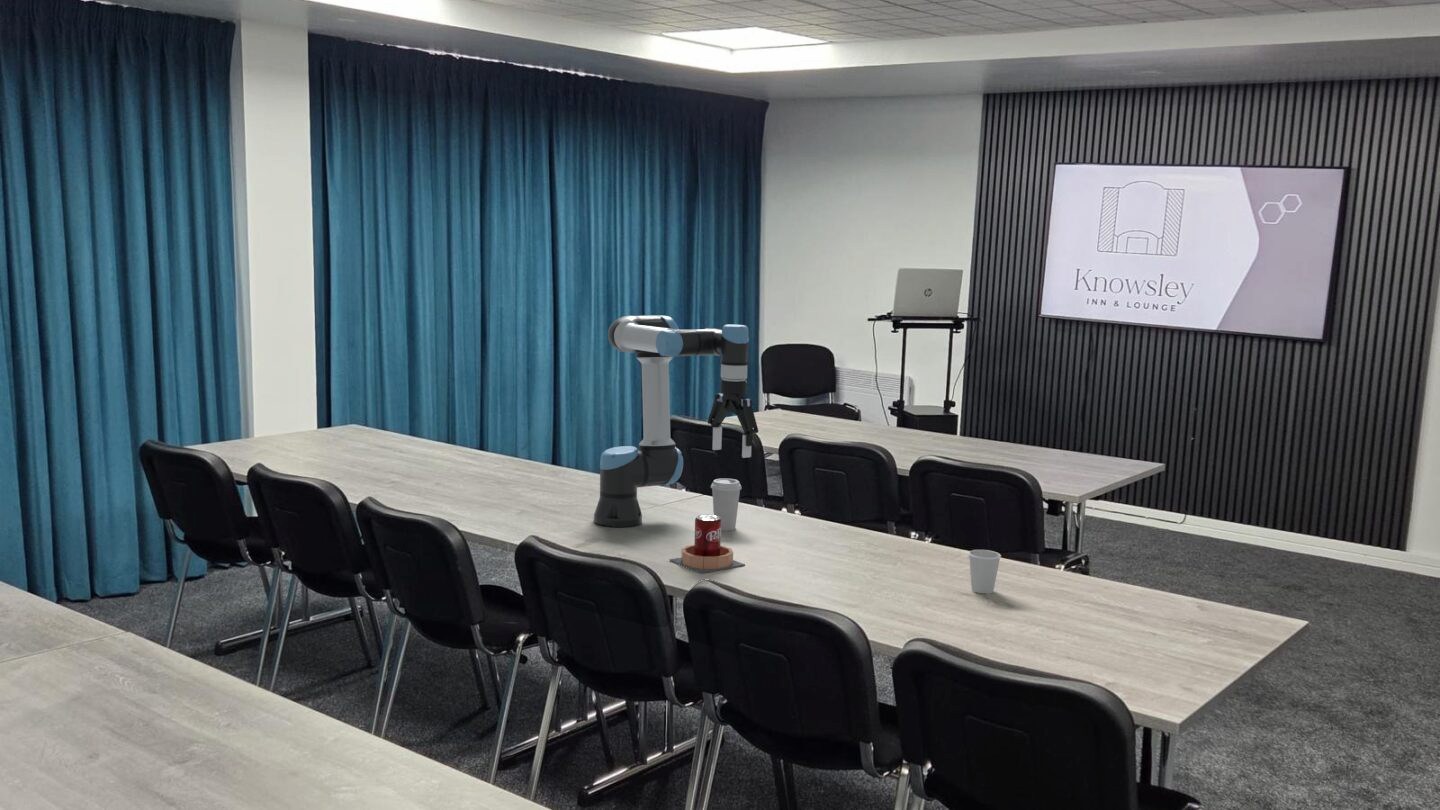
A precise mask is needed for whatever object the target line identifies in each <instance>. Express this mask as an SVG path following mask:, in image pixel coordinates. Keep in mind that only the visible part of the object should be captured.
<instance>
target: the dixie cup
mask: <svg viewBox="0 0 1440 810" xmlns="http://www.w3.org/2000/svg"><path fill="white" fill-rule="evenodd" d="M968 557H969V570H970V571H969V574H970V585H971V586H970V587H971V588H970V589H972V590H971V591H972V592H973V591H974V593H976V592H978V593H977V594H980V593H986V594H985V595H989V594H990V593H991V594H993V593H994V590H995V586H996V580H997V575H998V571H999V565H1000V560H1001V559H1000V558H1002V554H1000V553H999V552H996V551H994V550H989V549H972V550H970V551H968Z"/></svg>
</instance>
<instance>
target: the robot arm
mask: <svg viewBox="0 0 1440 810" xmlns="http://www.w3.org/2000/svg"><path fill="white" fill-rule="evenodd" d="M607 340H608V342H609V344H610V346H611V347H612V348H614V349H615V350H616V351H619V352H621V353H630V354H631V353H632V354H634V353H635V354H636V359H637V360H638V361H639V362H640V364H641V382H642V383H641V388H642V390H641V391H642V394H641V396H642V426H643V427H642V428H643V429H642V431H643V433H642V434H643V438H642V440H641V441H640V442H639V444H638V448H637V447H636V446H633V445H632V446H631V445H625V446H623V445H622V446H614V447H610V448H608V449H605V450H604V451H602V453H601V455H600V460H599V461H600V462H599V468H600V469H599V498H598V502H597V505H596V508H595V511H594V513H593V522H594V523H595V524H596V523H597V525H599V524H600V525H599V526H603V525H605V526H604V527H609V526H612V527H613V528H629V527H633V526H634V525H635V526H638V525H640V524H641V522H643V514H642V511H641V507H640V503H639V501H638V488H647V487H657V486H660V487H663V486H667V485H672V484H675V483H676V482H678V480H679V479H680V477H681V476H682V472H683V470H684V469H683V468H684V458H683V455H682V454H683V453H682V451H681V449H679V448H678V447H676V442H675V441H674V440H673V439H672V438H671V416H670V415H671V409H670V407H671V405H670V403H671V402H670V372H669V371H670V369H669V368H670V367H669V363H670V362H671V360H673V358H675V357H689V356H691V357H697V356H699V357H700V356H701V357H702V356H703V357H704V356H718V357H721V358H720V359H721V362H720V378H721V380H720V388H719V389H720V390H719V391H720V393H716V394H715V395H714V401H713V405H712V408H711V410H710V412H709V413H710V414H709V416H708V418H707V424H708V425H710V427H712V431H711V432H712V434H711V438H712V448H711V449H712V450H713V451H719V450H722V445H723V444H722V440H723V438H722V437H723V425H722V423H723V422H724V420H725V419H726V418H727V416H728V414H729V412H730V413H733V414H734V415H735V416H736V417H737V420H738V421H739V424H740V426H741V428H742V429H743V432H744V433H743V434H742V440H741V441H742V442H741V443H742V444H741V447H742V449H741V458H743V459H745V458H752V446H753V440H754V439H753V438H754V437H753V436H754V434H755V435H756V434H758V433H759V427H758V425H757V419H756V417H755V413H754V409H753V400H752V398H745V394H747V391H748V381H747V379H748V364H749V363H748V362H749V345H750V337H749V327H748V326H747V325H745V324H736V323H735V324H731V323H730V324H724V325H723V326H722V329H720V328H716V327H712V328H711V327H706V328H704V329H703V328H702V329H701V328H700V329H698V328H697V329H679V326H678V324H677V323H676V321H675V320H674V319H673V318H672V317H671V316H669V315H658V314H656V315H655V314H654V315H650V314H649V315H624V316H621V317H619V318H617V319H615V320H614V321H613V322H612V323H611V324H610V326H609V328H608V330H607Z"/></svg>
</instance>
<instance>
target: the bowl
mask: <svg viewBox="0 0 1440 810" xmlns="http://www.w3.org/2000/svg"><path fill="white" fill-rule="evenodd" d="M680 553H681V554H680V555H681V556H680V557H675V558H671V559H668V561H669V560H670V561H669V562H671V561H672V562H671V563H673V562H675V563H674V564H676V563H677V564H676V565H678V564H680V565H679V566H681V565H682V566H681V567H683V566H685V567H684V568H686V567H687V569H688V568H689V569H688V570H691V569H692V570H691V571H693V570H694V571H693V572H696V571H697V572H696V573H698V572H699V574H702V573H703V574H708V573H713V572H719V571H724V570H730V569H735V568H740V567H744V566H746V564H745V563H742V562H740V561H737V560H735V559H734V551H733V549H732V548H731V547H727V546H726V545H721V549H720V556H697V555H694V544H690V545H685V547H683V548H681V551H680ZM703 574H702V575H703Z"/></svg>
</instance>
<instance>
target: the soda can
mask: <svg viewBox="0 0 1440 810" xmlns="http://www.w3.org/2000/svg"><path fill="white" fill-rule="evenodd" d="M694 522H695V523H694V541H693V542H694V544H693V545H694V555H697V556H720V549H721V546H722V544H721V543H722V542H721V541H722V531H721V518H720V517H719V516H715V515H714V514H700V515H697V516H696V517H695V519H694Z"/></svg>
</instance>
